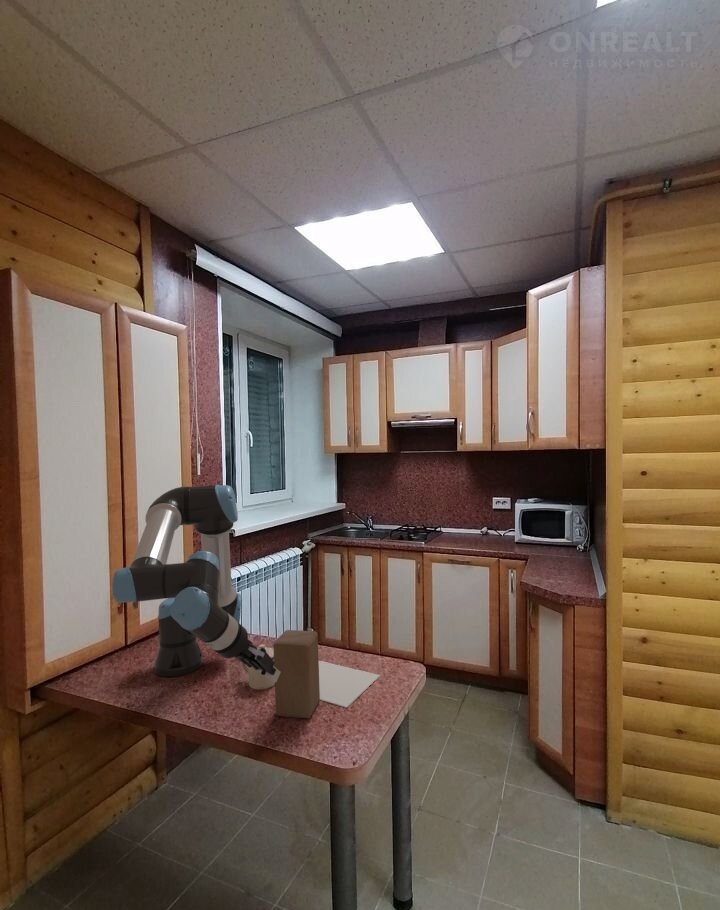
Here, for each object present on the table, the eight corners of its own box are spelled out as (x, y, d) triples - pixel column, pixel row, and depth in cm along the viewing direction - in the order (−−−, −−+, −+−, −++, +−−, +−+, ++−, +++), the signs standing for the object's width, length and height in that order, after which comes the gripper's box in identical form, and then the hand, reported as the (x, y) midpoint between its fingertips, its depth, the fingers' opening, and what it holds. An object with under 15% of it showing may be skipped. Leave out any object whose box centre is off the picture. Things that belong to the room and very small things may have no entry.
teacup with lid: (283, 678, 144) (282, 641, 144) (267, 692, 135) (266, 653, 135) (250, 672, 148) (249, 637, 148) (233, 686, 140) (232, 648, 140)
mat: (279, 688, 138) (278, 687, 138) (317, 660, 155) (317, 660, 155) (346, 708, 126) (346, 707, 126) (380, 676, 143) (380, 675, 143)
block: (310, 720, 121) (307, 644, 120) (274, 717, 123) (271, 642, 123) (320, 700, 130) (318, 630, 130) (287, 697, 132) (285, 628, 132)
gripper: (196, 646, 105) (250, 685, 119) (237, 657, 98) (289, 697, 113) (213, 615, 109) (263, 657, 124) (254, 624, 103) (302, 667, 117)
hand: (276, 676), depth 118 cm, fingers closed
